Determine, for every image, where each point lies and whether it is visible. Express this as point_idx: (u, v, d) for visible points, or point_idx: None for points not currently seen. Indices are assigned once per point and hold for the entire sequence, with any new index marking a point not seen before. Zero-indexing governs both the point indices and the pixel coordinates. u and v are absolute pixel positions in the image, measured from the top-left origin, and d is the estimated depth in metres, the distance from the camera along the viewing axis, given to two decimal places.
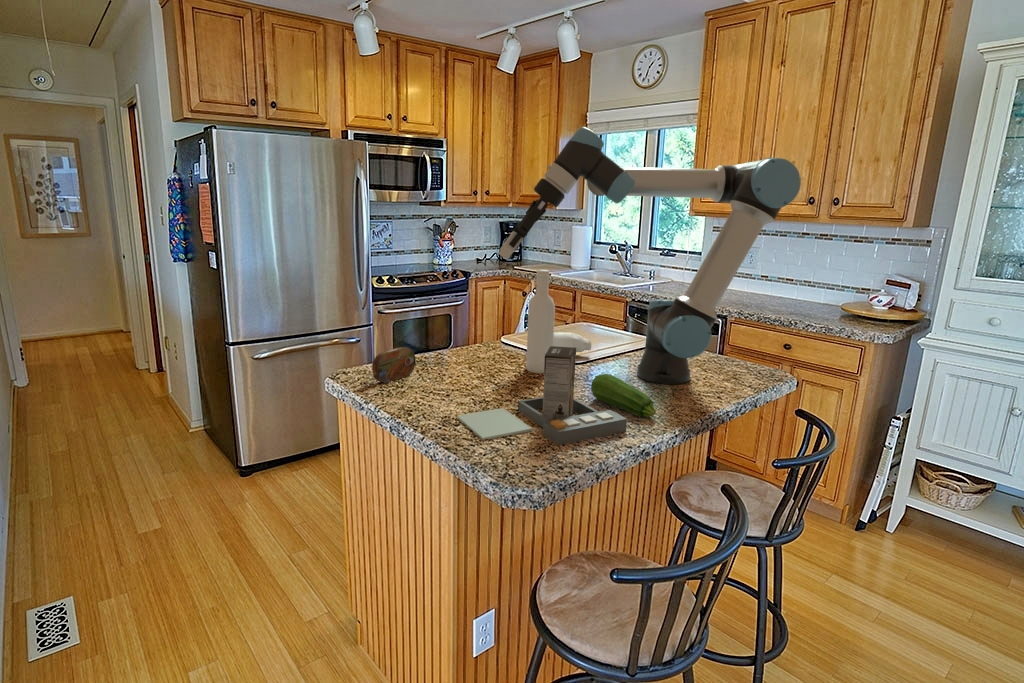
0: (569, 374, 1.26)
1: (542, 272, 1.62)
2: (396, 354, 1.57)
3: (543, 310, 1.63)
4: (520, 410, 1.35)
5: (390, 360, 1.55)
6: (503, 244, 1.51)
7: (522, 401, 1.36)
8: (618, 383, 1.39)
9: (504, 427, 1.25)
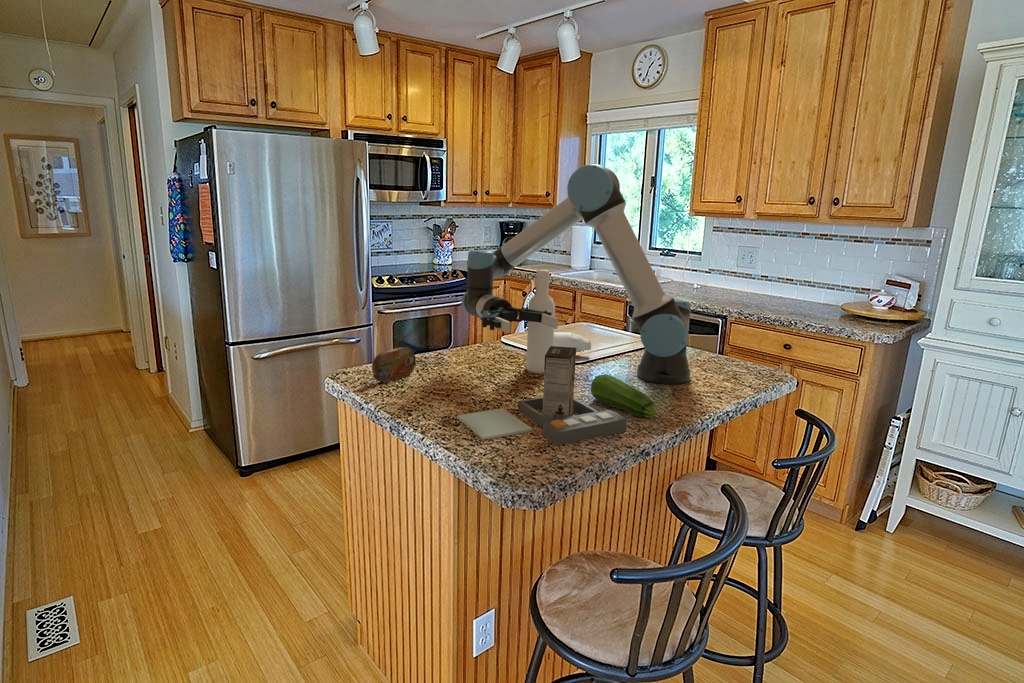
0: (569, 374, 1.26)
1: (542, 272, 1.62)
2: (396, 354, 1.57)
3: (543, 310, 1.63)
4: (520, 410, 1.35)
5: (390, 360, 1.55)
6: (551, 327, 1.44)
7: (522, 401, 1.36)
8: (618, 384, 1.39)
9: (504, 427, 1.25)
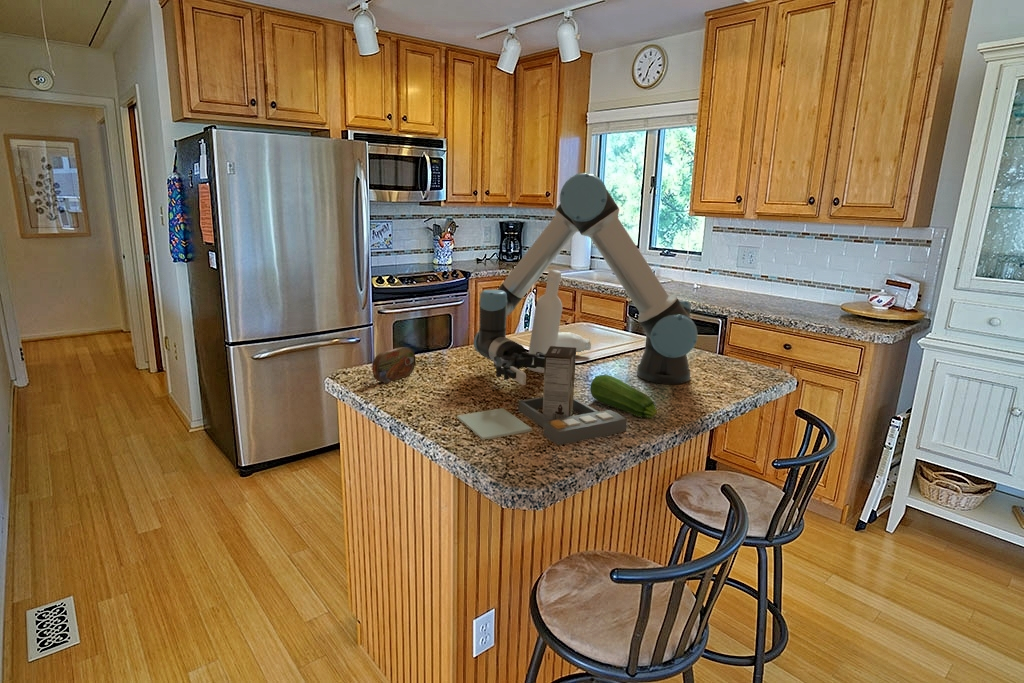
0: (569, 374, 1.26)
1: (555, 274, 1.59)
2: (396, 354, 1.57)
3: (552, 312, 1.60)
4: (520, 410, 1.35)
5: (390, 360, 1.55)
6: None
7: (522, 401, 1.36)
8: (618, 384, 1.39)
9: (504, 427, 1.25)
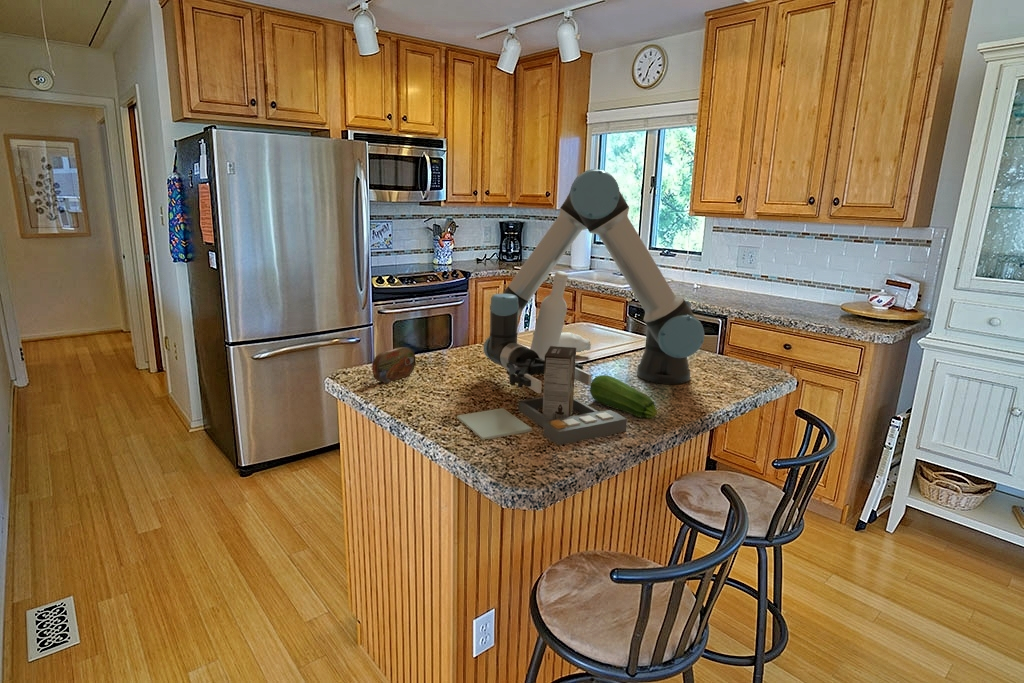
0: (569, 374, 1.26)
1: (562, 276, 1.57)
2: (396, 354, 1.57)
3: (556, 314, 1.59)
4: (520, 410, 1.35)
5: (390, 360, 1.55)
6: (584, 383, 1.34)
7: (522, 401, 1.36)
8: (618, 384, 1.38)
9: (504, 427, 1.25)
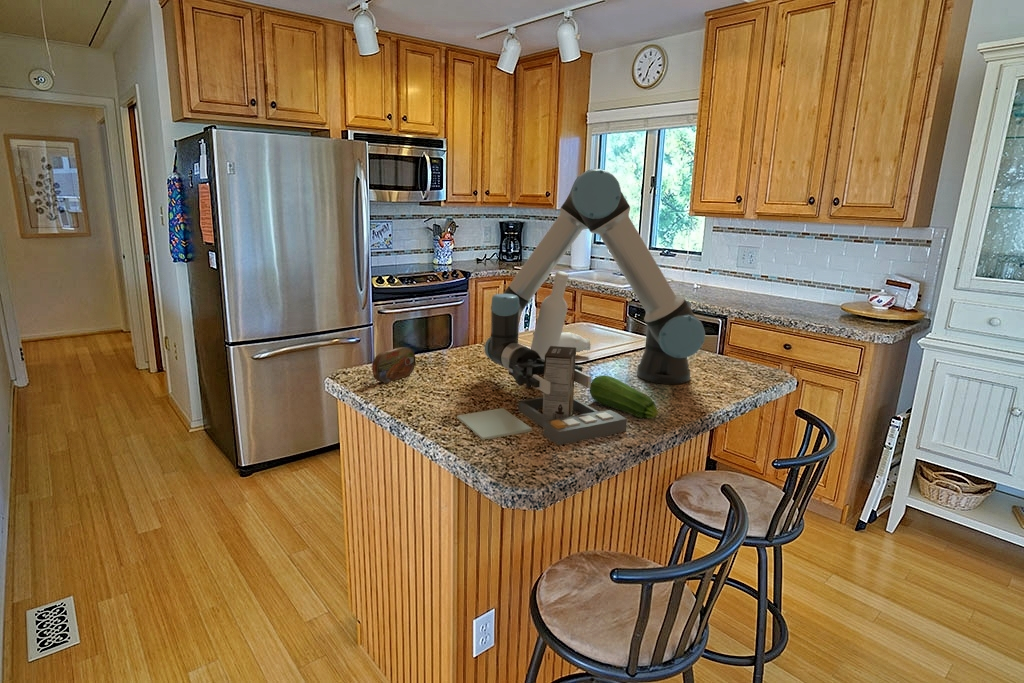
0: (569, 374, 1.26)
1: (562, 276, 1.57)
2: (396, 354, 1.57)
3: (557, 314, 1.59)
4: (520, 410, 1.35)
5: (390, 360, 1.55)
6: (583, 385, 1.32)
7: (522, 401, 1.36)
8: (618, 385, 1.38)
9: (504, 427, 1.25)
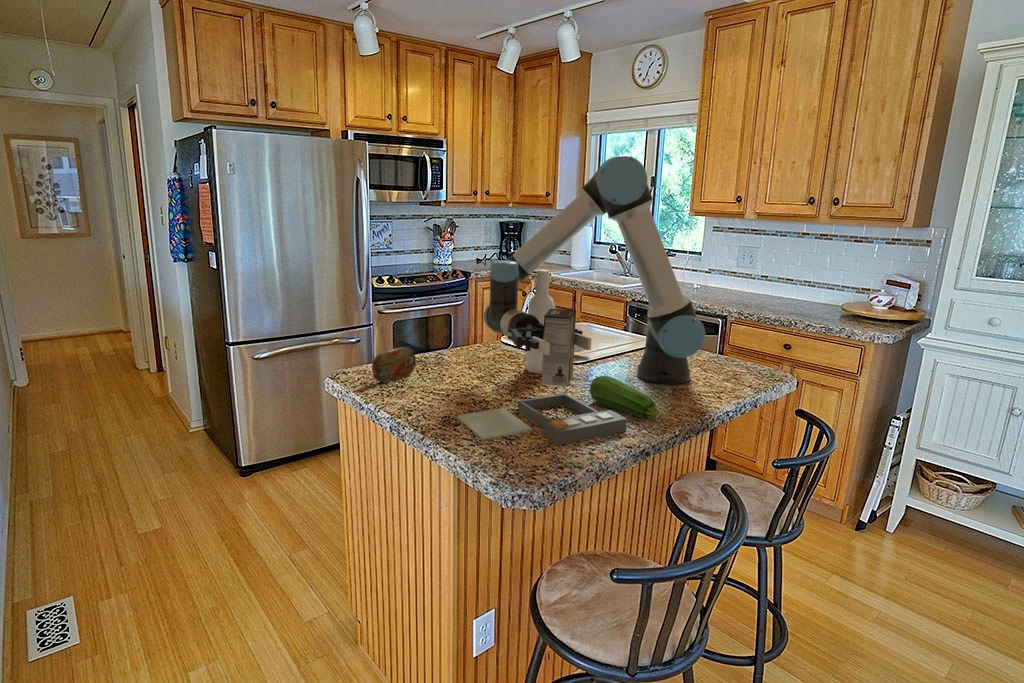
0: (569, 334, 1.24)
1: (543, 272, 1.62)
2: (396, 354, 1.57)
3: (545, 310, 1.63)
4: (520, 410, 1.35)
5: (390, 360, 1.55)
6: (584, 348, 1.30)
7: (522, 401, 1.36)
8: (618, 385, 1.38)
9: (504, 427, 1.25)
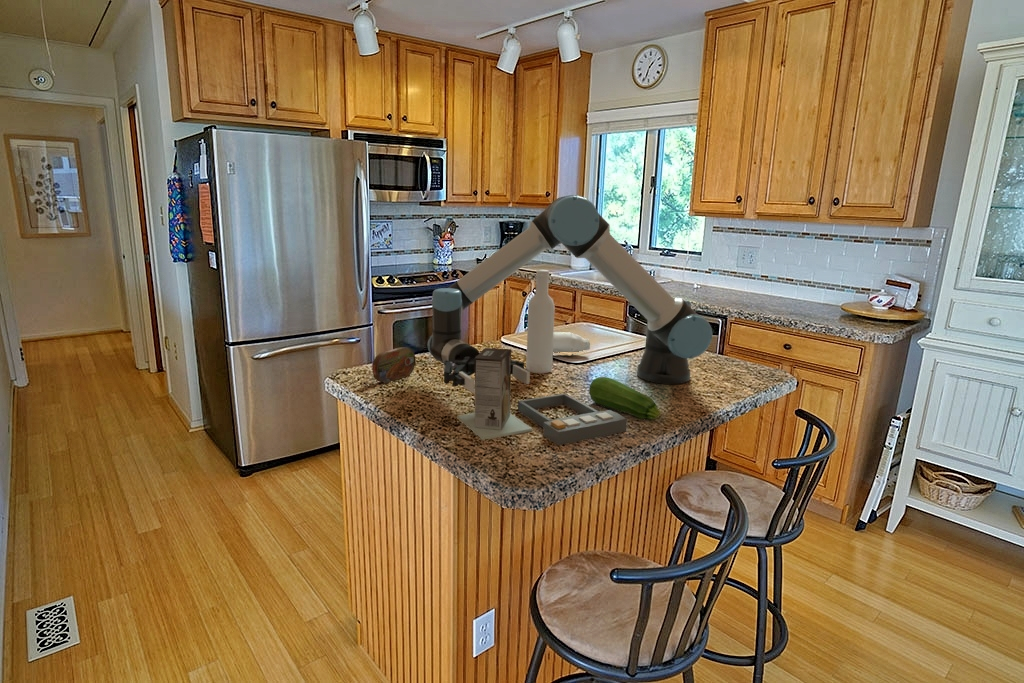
0: (500, 377, 1.20)
1: (543, 272, 1.62)
2: (396, 354, 1.57)
3: (544, 310, 1.63)
4: (520, 410, 1.35)
5: (390, 360, 1.55)
6: (523, 381, 1.27)
7: (522, 401, 1.36)
8: (619, 386, 1.37)
9: (504, 427, 1.25)
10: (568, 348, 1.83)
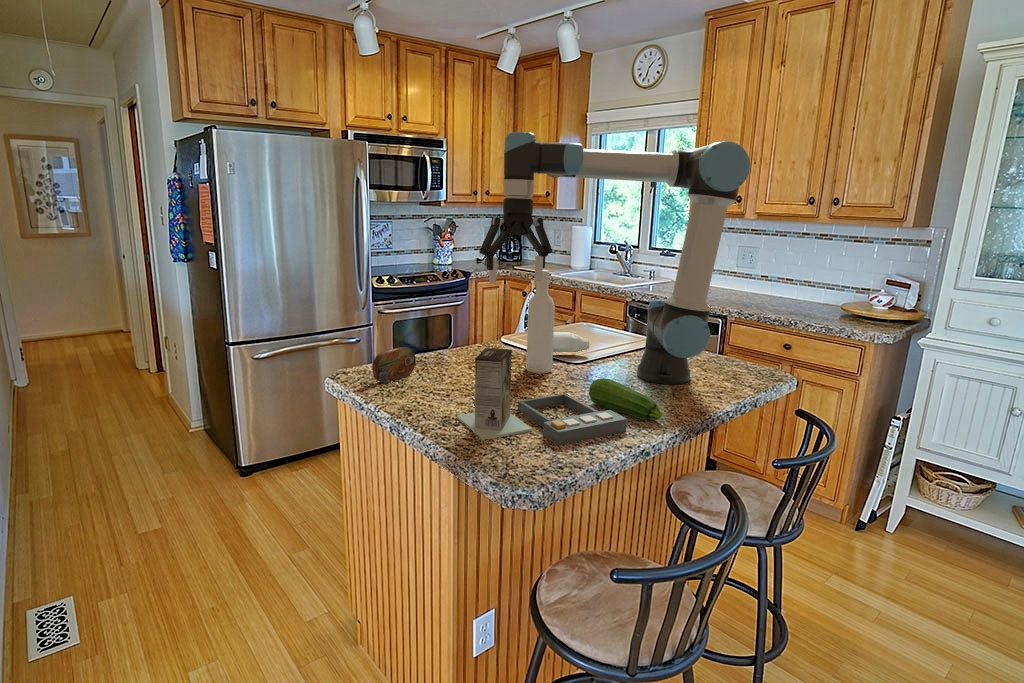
0: (501, 377, 1.20)
1: (543, 272, 1.62)
2: (396, 354, 1.57)
3: (544, 310, 1.63)
4: (520, 410, 1.35)
5: (390, 360, 1.55)
6: None
7: (522, 401, 1.36)
8: (620, 387, 1.36)
9: (504, 427, 1.25)
10: (567, 348, 1.83)
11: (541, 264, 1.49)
